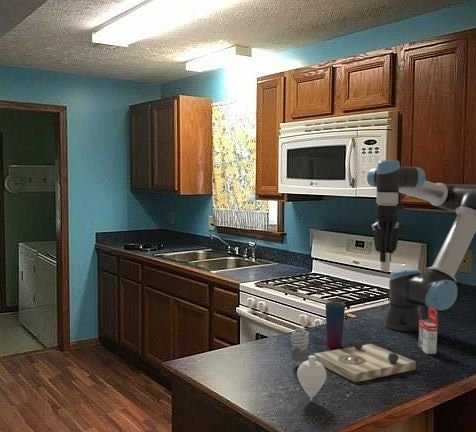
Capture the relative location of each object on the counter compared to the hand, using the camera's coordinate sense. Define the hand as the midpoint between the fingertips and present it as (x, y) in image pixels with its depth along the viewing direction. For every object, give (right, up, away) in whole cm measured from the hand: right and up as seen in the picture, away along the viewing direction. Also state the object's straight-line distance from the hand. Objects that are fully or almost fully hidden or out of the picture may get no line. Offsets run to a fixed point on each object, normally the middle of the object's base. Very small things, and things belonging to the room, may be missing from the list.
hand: (385, 271), depth 189 cm
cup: (-18, -27, -1) cm, 32 cm away
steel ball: (-17, -26, -23) cm, 39 cm away
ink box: (+13, -27, -5) cm, 31 cm away
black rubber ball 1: (-12, -23, -12) cm, 29 cm away
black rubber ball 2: (-4, -24, -25) cm, 35 cm away
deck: (-12, -28, -20) cm, 37 cm away
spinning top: (-33, -30, -48) cm, 65 cm away
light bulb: (-33, -28, -22) cm, 48 cm away
